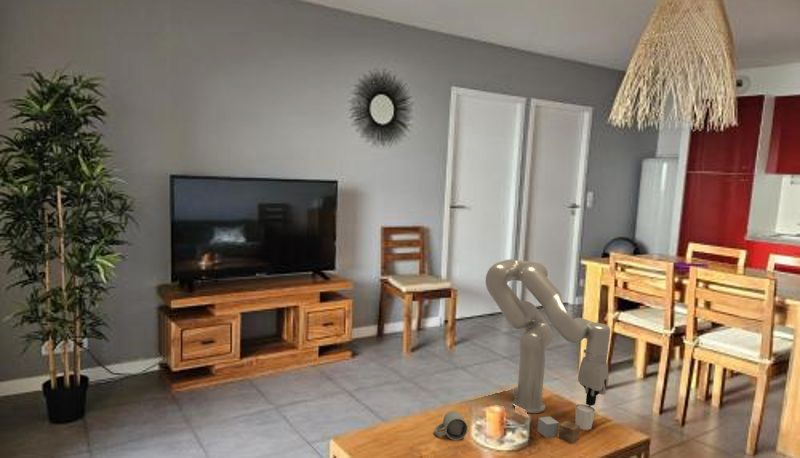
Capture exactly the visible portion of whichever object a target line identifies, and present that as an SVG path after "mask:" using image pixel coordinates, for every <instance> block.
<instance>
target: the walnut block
mask: <svg viewBox="0 0 800 458" xmlns="http://www.w3.org/2000/svg"><path fill="white" fill-rule="evenodd" d="M580 430H581V429H580V425H577V424H575V423H574V422H571V421H569V420H565V421H564V422H562V423H559V428H558V439H560V440H562V441H563V442H567V443H570V444H572V445H573V444H574V443H575V442H576V441H578V440H579V438H580V437H579V436H580Z"/></svg>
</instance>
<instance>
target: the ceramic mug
mask: <svg viewBox="0 0 800 458" xmlns="http://www.w3.org/2000/svg"><path fill="white" fill-rule="evenodd" d="M468 427H469V426H468V423H467V422H466V420H465V419H464V416H463V415H462V414H461V413H460V412H458V411H456V410H451V411H448V412H446V414H445V415H444V416H443V421H442V423H440V424H438V425H437V426H435V428H434V435H436V436H437V437H444V436H447V438H449V439H450V440H453V441H460V440H462V439H463V438H465V436H466V435H467V433H468V429H469V428H468ZM442 429H444V430H442ZM440 430H442V431H440Z"/></svg>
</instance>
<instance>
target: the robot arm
mask: <svg viewBox="0 0 800 458" xmlns="http://www.w3.org/2000/svg"><path fill="white" fill-rule="evenodd" d="M510 281H516V282H517V281H518V282H521V283H522V284H523V286H524V287H525V288H526V289H527V290H528V291H529V292H530V293H531V295H532V296H533V297H534V298H535V299H536V300H537V303H539V304H540V305H541V306H542V307H543V311H544V313H545V314H546V316H547V318H548V320H549V322H550V323H551V324H552V326H553V328H554V329H555V330H556V331H557V332H558V333H559V335H560V336H561V337H562V338H563V339H564V340H565V341H567V342H569V343H570V344H571V343H572V344H578V343H580V342H581V341H583V340H584V339H586V345H585V349H583V353H584V356H583V357H582V360H581V362H580V365H579V369H578V370H579V371H578V377H577V381H578V383H579V384H580V385H581V386H582V387H583V388H584V390H585V392H584V393H585V394H586V398H585V405H588V406H591V407H592V406H594V405H596V401H597V396H598V395H606V393H607V391H606V390H607V388H608V385H609V364H608V361H607V360H608V353H609V345H610V335H611V328H610V326H609V325H608V324H606V323H602V322H601V323H600V322H594V321H591V320H588V319H586V318H583V317H575V318H573V317H572V316H571V315H570V314H569V313H568V311H567V310H566V308H565V306H564V302H563V297H562V293H561V291H560V290H559V289H558V288H557V286H555V285H554V284H553V283H552V282H551V280H550V279H549V278H548V270H547V268H546V267H545V265H543V264H542V263H539V262H536V261H535V262H534V261H527V260H520V259H519V260H518V259H512V258H511V259H505V260H502V261H499V262H495V263H494V264H493V265H492V266H491V267H490V268H489V269H488V271H487V272H486V275H485V286H486V290H487V291H488V293H489V295H490V296H491V299H492V300H493V301H494V302H495V304H496V305H497V307H498V308H499V310H500V312H501V313H502V315H503V317H504V318H505V319H506V320H507V322H508V324H509V325H510V326H511V327H512V328H514V329H517V330H521V329H524V330H525V331H524V332H523V333H522V335H521V336H520V339H519V369H518V381H517V388H516V387H515V388H513V390H512V391H511V392H510V393H511V395H512V396H514V399H513V400H512V403H513V404H515V405H517V406H519V407H521V408H523V409H525V410H526V411H527V412H528V414H541V413H543V412H544V411H545V410H546V405H545V403H543V402H542V401H543V390H544V378H545V363H546V362H545V361H546V360H545V359H546V355H545V350H546V348H548V347H549V346H550V344H552V342H553V340H554V334H553V330H552V328H551V326H550V325H549V324H548V323H547V321H546V319H545V318H544V316H543V315H542V314H541V312H540V311H539V309H538V308H537V307H536V306H535V305H534V303H532V302H530V301H527V300H522V301H521V299H520V298H519V296H517V294H516V292H515V291H514V290H513V289H512V288H511V287H510V285H509V284H508V283H509V282H510Z"/></svg>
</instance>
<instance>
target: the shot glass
mask: <svg viewBox="0 0 800 458" xmlns="http://www.w3.org/2000/svg"><path fill="white" fill-rule="evenodd" d="M574 408H575V410H574V411H575V412H574V413H575V417H574V418H575V420H574V421H575V423H574V424H577V425H580V429H579V430H584V431H589V429H590V430H591V429H592V427H593V422H594V417H595V413H596V409H595V408H594V407H592V406H589V405H587V404H576V405H575V407H574Z"/></svg>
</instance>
